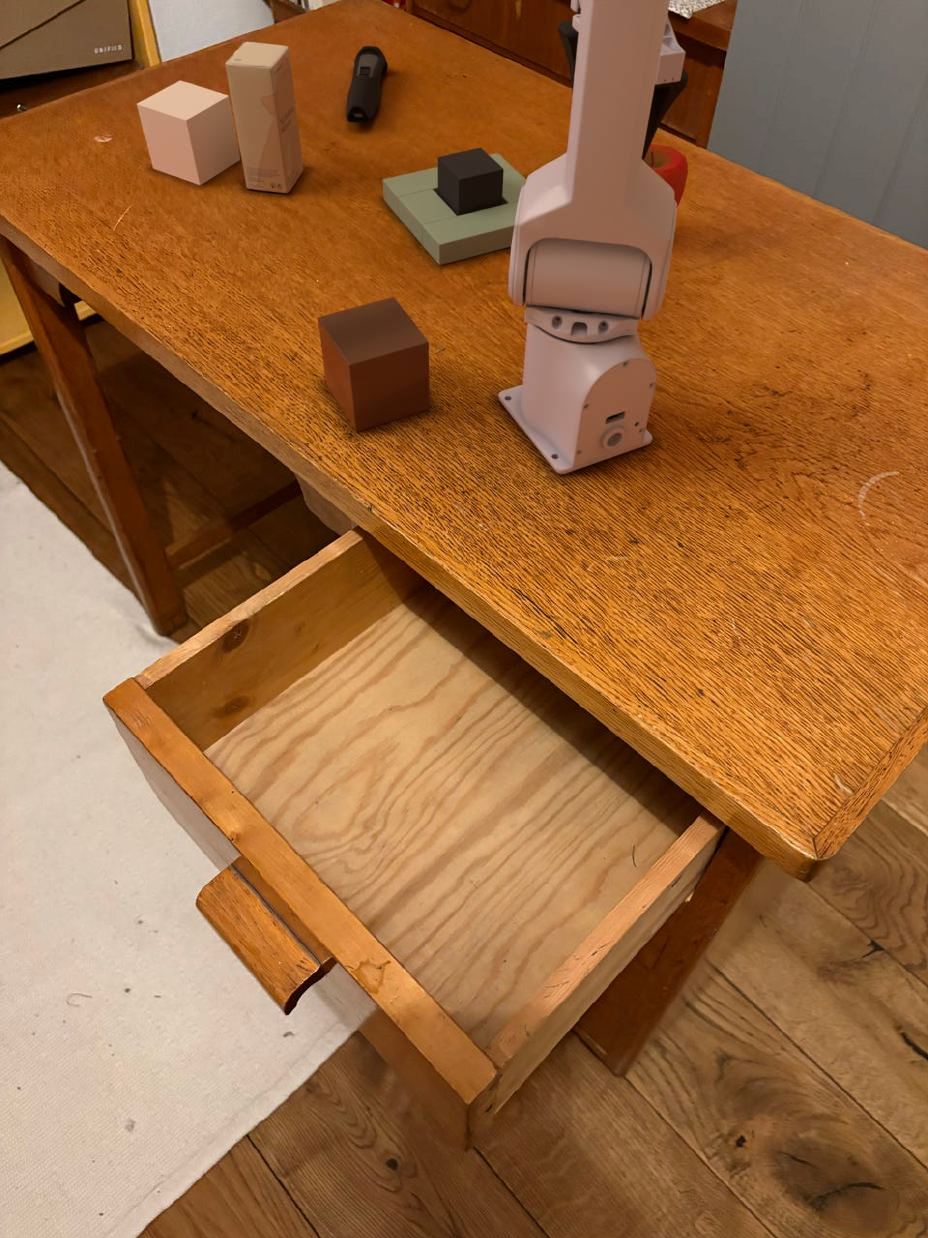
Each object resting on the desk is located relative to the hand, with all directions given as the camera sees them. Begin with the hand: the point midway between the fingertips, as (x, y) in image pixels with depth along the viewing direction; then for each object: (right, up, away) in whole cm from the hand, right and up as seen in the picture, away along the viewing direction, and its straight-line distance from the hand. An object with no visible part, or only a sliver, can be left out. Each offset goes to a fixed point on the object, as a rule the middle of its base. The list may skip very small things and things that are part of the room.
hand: (608, 141), depth 74 cm
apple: (+4, -1, +6) cm, 7 cm away
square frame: (-11, -1, +10) cm, 15 cm away
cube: (-18, -22, -5) cm, 29 cm away
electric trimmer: (-22, +17, +25) cm, 38 cm away
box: (-30, +4, +14) cm, 33 cm away
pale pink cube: (-38, +6, +16) cm, 41 cm away
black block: (-11, -2, +10) cm, 15 cm away
